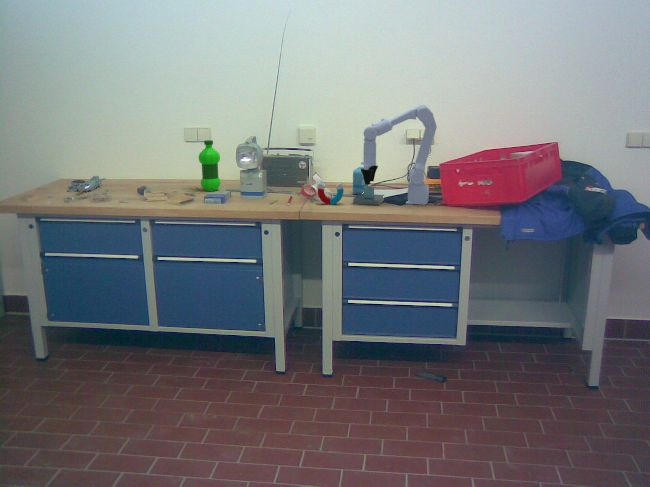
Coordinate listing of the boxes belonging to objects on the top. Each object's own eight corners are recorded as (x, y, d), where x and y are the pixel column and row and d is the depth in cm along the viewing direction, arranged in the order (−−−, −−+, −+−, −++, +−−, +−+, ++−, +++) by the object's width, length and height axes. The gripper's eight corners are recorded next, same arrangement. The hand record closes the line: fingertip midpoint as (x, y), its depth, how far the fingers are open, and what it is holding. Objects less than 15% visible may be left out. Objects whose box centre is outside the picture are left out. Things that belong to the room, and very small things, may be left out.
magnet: (343, 203, 301) (343, 182, 298) (343, 205, 298) (343, 183, 295) (318, 203, 301) (318, 182, 299) (317, 204, 299) (317, 183, 296)
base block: (384, 200, 307) (384, 195, 307) (378, 205, 296) (378, 200, 296) (359, 198, 311) (359, 193, 310) (353, 204, 300) (353, 198, 299)
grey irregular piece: (79, 186, 346) (107, 183, 344) (53, 201, 321) (83, 199, 318) (76, 175, 344) (105, 173, 342) (49, 190, 318) (80, 188, 316)
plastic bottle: (222, 191, 327) (220, 141, 320) (201, 192, 324) (198, 142, 317) (220, 187, 336) (218, 139, 329) (200, 188, 334) (197, 139, 327)
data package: (361, 195, 318) (361, 170, 315) (352, 194, 320) (352, 170, 316) (368, 190, 329) (368, 166, 326) (359, 189, 331) (359, 166, 327)
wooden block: (374, 196, 304) (374, 186, 303) (372, 197, 300) (372, 188, 299) (365, 195, 305) (365, 186, 304) (363, 197, 302) (363, 187, 300)
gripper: (364, 150, 305) (364, 179, 309) (357, 155, 292) (357, 185, 295) (379, 151, 303) (379, 180, 307) (372, 156, 290) (372, 186, 293)
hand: (369, 182), depth 301 cm, fingers open, 7 cm apart
